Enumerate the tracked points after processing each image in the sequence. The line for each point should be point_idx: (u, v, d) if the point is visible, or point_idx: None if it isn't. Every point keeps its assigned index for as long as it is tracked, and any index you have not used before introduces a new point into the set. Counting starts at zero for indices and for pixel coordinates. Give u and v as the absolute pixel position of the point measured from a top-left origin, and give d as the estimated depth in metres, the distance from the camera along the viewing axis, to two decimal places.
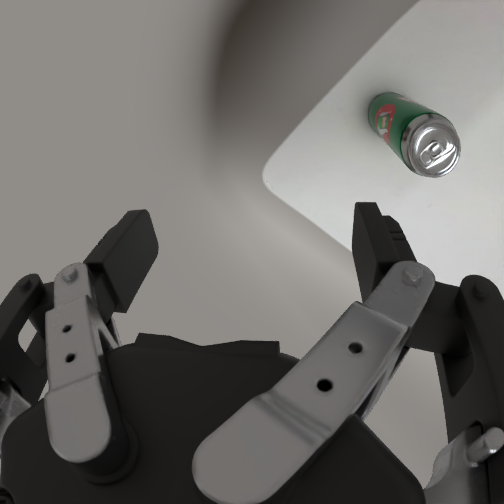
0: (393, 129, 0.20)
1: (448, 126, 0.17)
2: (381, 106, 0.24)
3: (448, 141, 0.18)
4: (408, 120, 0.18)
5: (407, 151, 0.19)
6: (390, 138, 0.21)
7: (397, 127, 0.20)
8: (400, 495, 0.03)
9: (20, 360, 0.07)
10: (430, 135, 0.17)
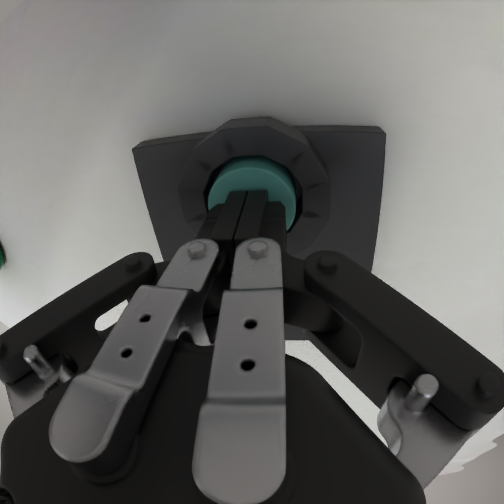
0: None
1: None
2: None
3: None
4: None
5: None
6: None
7: None
8: (400, 495, 0.03)
9: (90, 342, 0.07)
10: None
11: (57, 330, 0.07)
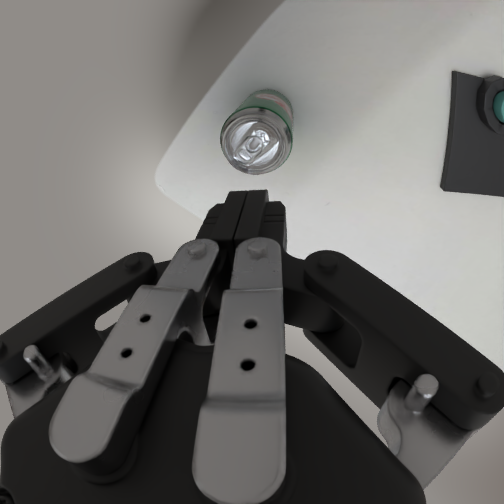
0: None
1: (265, 118, 0.19)
2: None
3: (270, 134, 0.20)
4: None
5: None
6: None
7: None
8: (400, 495, 0.03)
9: (90, 342, 0.07)
10: (243, 131, 0.19)
11: (57, 330, 0.07)
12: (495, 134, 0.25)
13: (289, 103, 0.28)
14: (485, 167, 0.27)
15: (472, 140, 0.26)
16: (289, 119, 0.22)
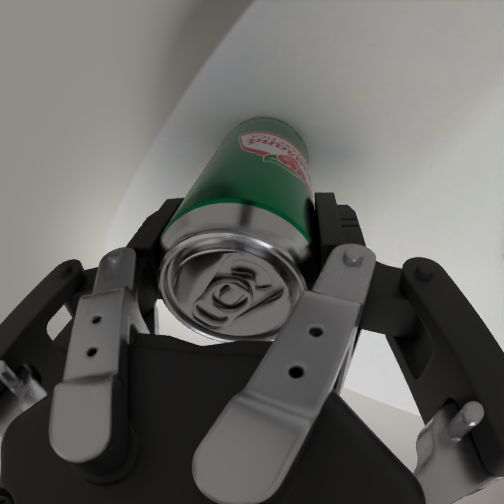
0: None
1: (254, 242, 0.07)
2: None
3: (270, 275, 0.08)
4: (168, 223, 0.09)
5: None
6: None
7: None
8: (400, 495, 0.03)
9: (46, 348, 0.07)
10: (202, 269, 0.08)
11: (17, 341, 0.06)
12: None
13: (302, 142, 0.16)
14: None
15: None
16: (310, 203, 0.11)
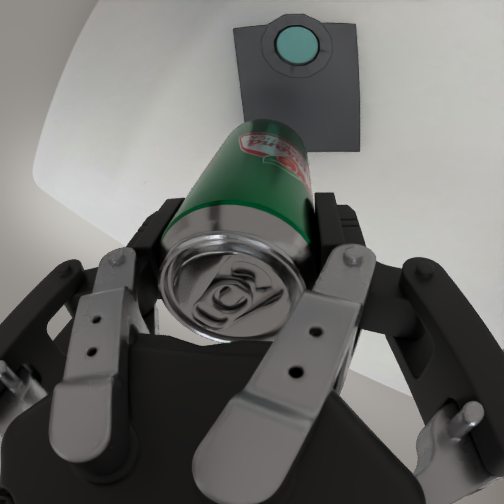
0: None
1: (254, 244, 0.07)
2: None
3: (269, 276, 0.08)
4: None
5: None
6: None
7: None
8: (400, 495, 0.03)
9: (46, 348, 0.07)
10: (202, 271, 0.08)
11: (17, 341, 0.06)
12: (301, 80, 0.27)
13: (302, 143, 0.16)
14: (297, 120, 0.30)
15: (269, 93, 0.28)
16: (310, 205, 0.11)
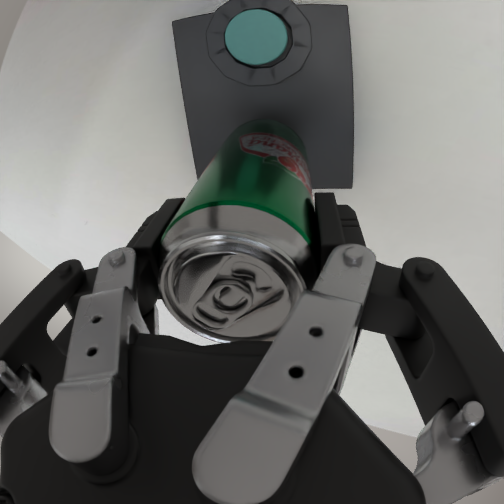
0: None
1: (254, 244, 0.07)
2: None
3: (269, 276, 0.08)
4: None
5: (170, 297, 0.10)
6: None
7: None
8: (400, 495, 0.03)
9: (46, 348, 0.07)
10: (202, 271, 0.08)
11: (17, 342, 0.06)
12: (268, 89, 0.19)
13: (302, 144, 0.16)
14: None
15: (222, 109, 0.20)
16: (310, 205, 0.11)
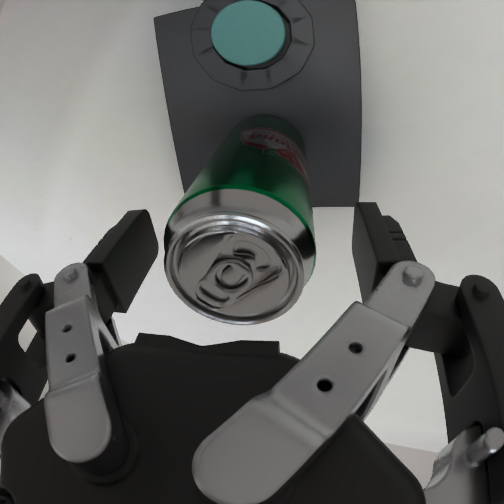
0: None
1: (254, 223, 0.08)
2: None
3: (268, 255, 0.09)
4: (174, 209, 0.10)
5: (174, 278, 0.10)
6: None
7: None
8: (400, 495, 0.03)
9: (20, 360, 0.07)
10: (206, 250, 0.09)
11: None
12: (263, 93, 0.17)
13: (301, 139, 0.17)
14: None
15: (211, 117, 0.18)
16: (307, 193, 0.11)
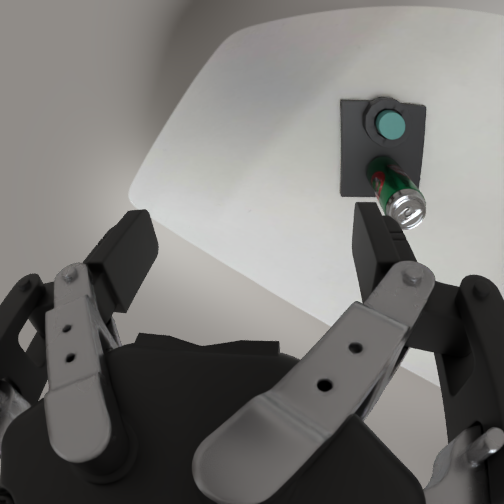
0: (382, 196, 0.33)
1: (417, 197, 0.29)
2: (375, 171, 0.36)
3: (417, 206, 0.30)
4: (391, 193, 0.31)
5: (389, 214, 0.31)
6: (379, 200, 0.34)
7: (384, 196, 0.32)
8: (400, 495, 0.03)
9: (20, 360, 0.07)
10: (405, 204, 0.30)
11: None
12: (385, 146, 0.38)
13: None
14: None
15: (362, 154, 0.39)
16: None
